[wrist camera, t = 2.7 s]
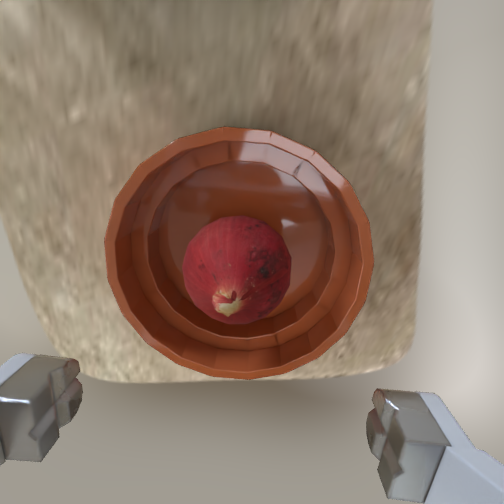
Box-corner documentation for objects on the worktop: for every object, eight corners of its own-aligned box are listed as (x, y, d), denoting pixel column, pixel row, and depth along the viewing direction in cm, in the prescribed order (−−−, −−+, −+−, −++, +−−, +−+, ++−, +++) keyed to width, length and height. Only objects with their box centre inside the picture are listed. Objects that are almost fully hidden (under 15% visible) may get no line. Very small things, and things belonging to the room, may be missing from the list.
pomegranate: (264, 188, 19) (265, 216, 11) (299, 267, 20) (321, 337, 13) (182, 227, 20) (133, 276, 12) (223, 299, 21) (201, 382, 14)
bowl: (142, 327, 23) (114, 368, 19) (132, 123, 18) (92, 115, 14) (330, 343, 23) (346, 388, 18) (369, 142, 18) (402, 141, 14)
